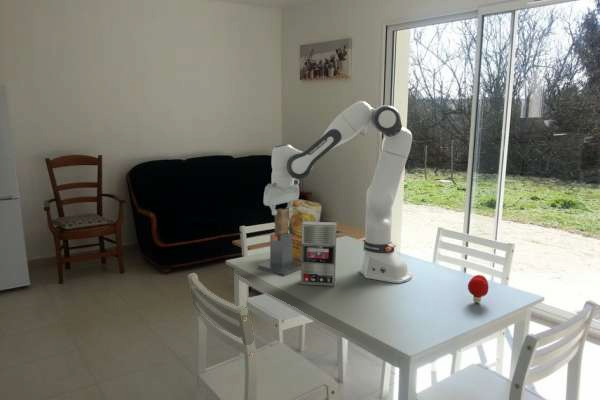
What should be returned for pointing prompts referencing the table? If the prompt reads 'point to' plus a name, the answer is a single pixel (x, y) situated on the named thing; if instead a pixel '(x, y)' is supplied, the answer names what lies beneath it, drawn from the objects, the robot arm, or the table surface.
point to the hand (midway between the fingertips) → (281, 213)
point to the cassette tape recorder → (318, 253)
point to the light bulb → (478, 287)
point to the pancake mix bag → (297, 215)
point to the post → (281, 222)
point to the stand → (280, 256)
